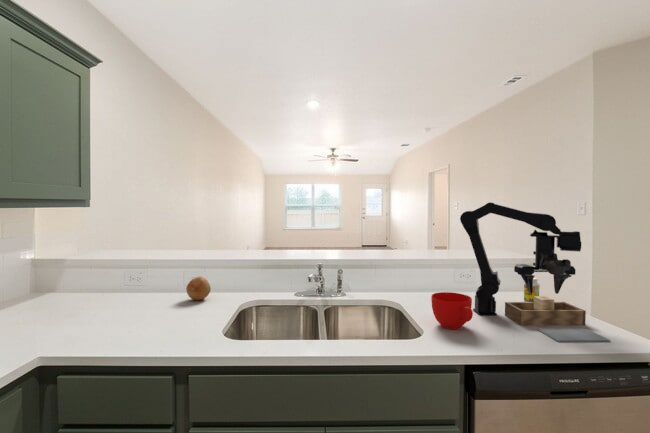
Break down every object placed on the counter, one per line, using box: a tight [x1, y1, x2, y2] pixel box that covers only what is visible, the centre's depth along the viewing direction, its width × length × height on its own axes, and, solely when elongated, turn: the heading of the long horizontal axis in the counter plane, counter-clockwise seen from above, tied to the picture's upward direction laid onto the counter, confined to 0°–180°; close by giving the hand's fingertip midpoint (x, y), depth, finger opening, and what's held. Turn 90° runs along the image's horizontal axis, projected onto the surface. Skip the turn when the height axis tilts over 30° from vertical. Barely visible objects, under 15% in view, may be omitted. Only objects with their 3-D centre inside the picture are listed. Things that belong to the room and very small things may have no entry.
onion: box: [185, 275, 211, 302], centre depth 157 cm, size 10×10×10 cm
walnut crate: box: [504, 301, 587, 327], centre depth 129 cm, size 22×11×5 cm, turn 91°
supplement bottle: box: [523, 277, 540, 302], centre depth 152 cm, size 6×6×10 cm
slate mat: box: [537, 327, 611, 343], centre depth 115 cm, size 16×10×1 cm, turn 91°
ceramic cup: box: [430, 291, 473, 330], centre depth 122 cm, size 13×17×10 cm
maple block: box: [534, 295, 555, 310], centre depth 129 cm, size 4×4×8 cm
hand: (543, 293), depth 129 cm, fingers open, 9 cm apart
